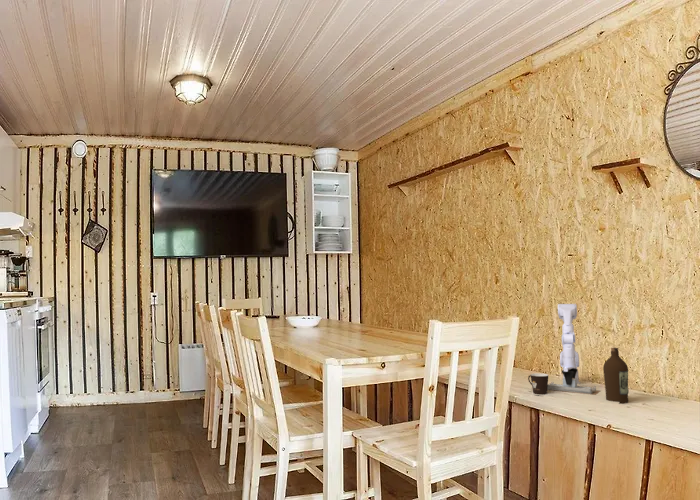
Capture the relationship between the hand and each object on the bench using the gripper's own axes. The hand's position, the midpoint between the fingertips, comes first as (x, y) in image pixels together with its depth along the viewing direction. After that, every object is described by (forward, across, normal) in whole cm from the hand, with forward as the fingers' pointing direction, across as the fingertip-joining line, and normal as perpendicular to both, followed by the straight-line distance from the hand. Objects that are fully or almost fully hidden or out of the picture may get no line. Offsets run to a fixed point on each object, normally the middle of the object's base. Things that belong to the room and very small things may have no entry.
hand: (570, 383), depth 287 cm
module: (+2, 0, 0) cm, 2 cm away
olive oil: (+4, +10, +24) cm, 27 cm away
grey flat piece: (+3, -1, 0) cm, 4 cm away
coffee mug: (+4, +12, -12) cm, 18 cm away
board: (+4, -1, 0) cm, 4 cm away
